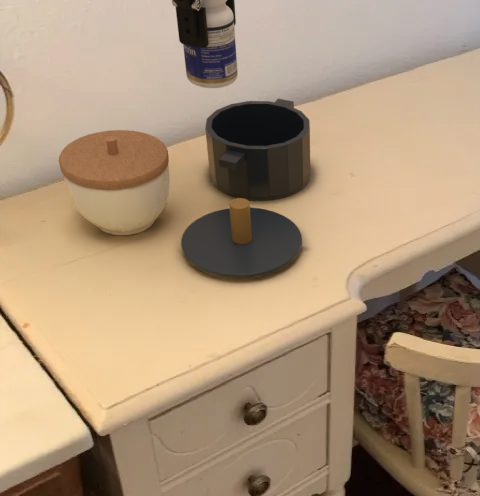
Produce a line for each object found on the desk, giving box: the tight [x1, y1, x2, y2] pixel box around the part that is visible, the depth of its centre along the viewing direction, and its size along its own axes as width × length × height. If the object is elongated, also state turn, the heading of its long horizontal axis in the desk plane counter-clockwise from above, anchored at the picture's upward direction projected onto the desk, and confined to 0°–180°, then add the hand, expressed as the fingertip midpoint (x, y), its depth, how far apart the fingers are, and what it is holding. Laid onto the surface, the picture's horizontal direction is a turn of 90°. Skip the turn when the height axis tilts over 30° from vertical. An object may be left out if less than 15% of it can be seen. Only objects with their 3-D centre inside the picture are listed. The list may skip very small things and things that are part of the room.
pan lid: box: [180, 197, 303, 279], centre depth 100 cm, size 15×15×6 cm
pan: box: [204, 98, 311, 201], centre depth 113 cm, size 14×19×8 cm
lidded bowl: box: [58, 129, 171, 236], centre depth 102 cm, size 13×13×11 cm
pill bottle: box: [182, 0, 238, 89], centre depth 91 cm, size 6×6×10 cm
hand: (208, 32), depth 91 cm, fingers closed on pill bottle, 5 cm apart
